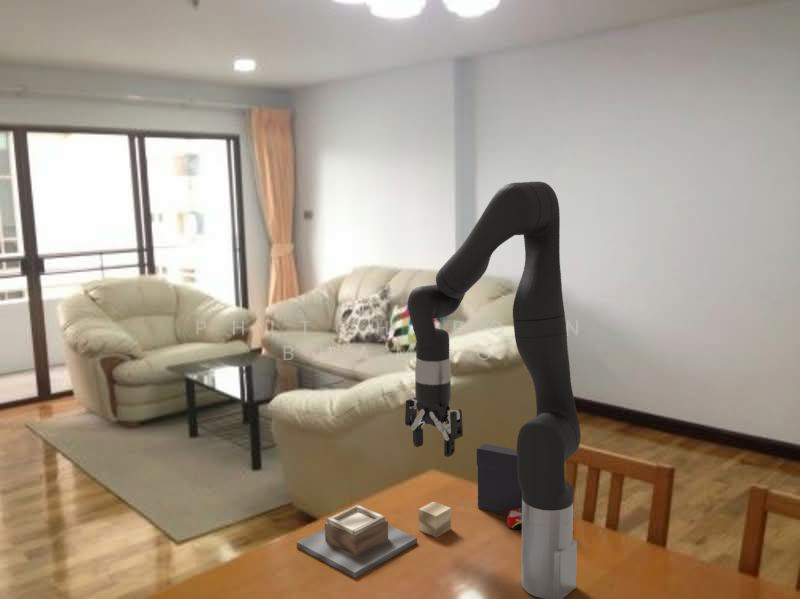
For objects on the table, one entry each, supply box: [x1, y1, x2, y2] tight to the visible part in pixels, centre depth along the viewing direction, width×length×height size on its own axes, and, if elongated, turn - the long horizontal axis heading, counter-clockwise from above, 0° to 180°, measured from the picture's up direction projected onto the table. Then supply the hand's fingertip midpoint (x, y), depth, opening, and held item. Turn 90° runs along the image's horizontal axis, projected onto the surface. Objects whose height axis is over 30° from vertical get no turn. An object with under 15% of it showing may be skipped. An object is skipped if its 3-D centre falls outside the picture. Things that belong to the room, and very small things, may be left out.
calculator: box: [476, 443, 522, 516], centre depth 160 cm, size 11×4×15 cm, turn 59°
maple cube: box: [418, 501, 452, 538], centre depth 153 cm, size 5×5×5 cm
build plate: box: [296, 504, 418, 579], centre depth 147 cm, size 18×18×6 cm
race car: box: [506, 508, 522, 532], centre depth 154 cm, size 13×5×4 cm, turn 79°
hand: (433, 450), depth 150 cm, fingers open, 8 cm apart
